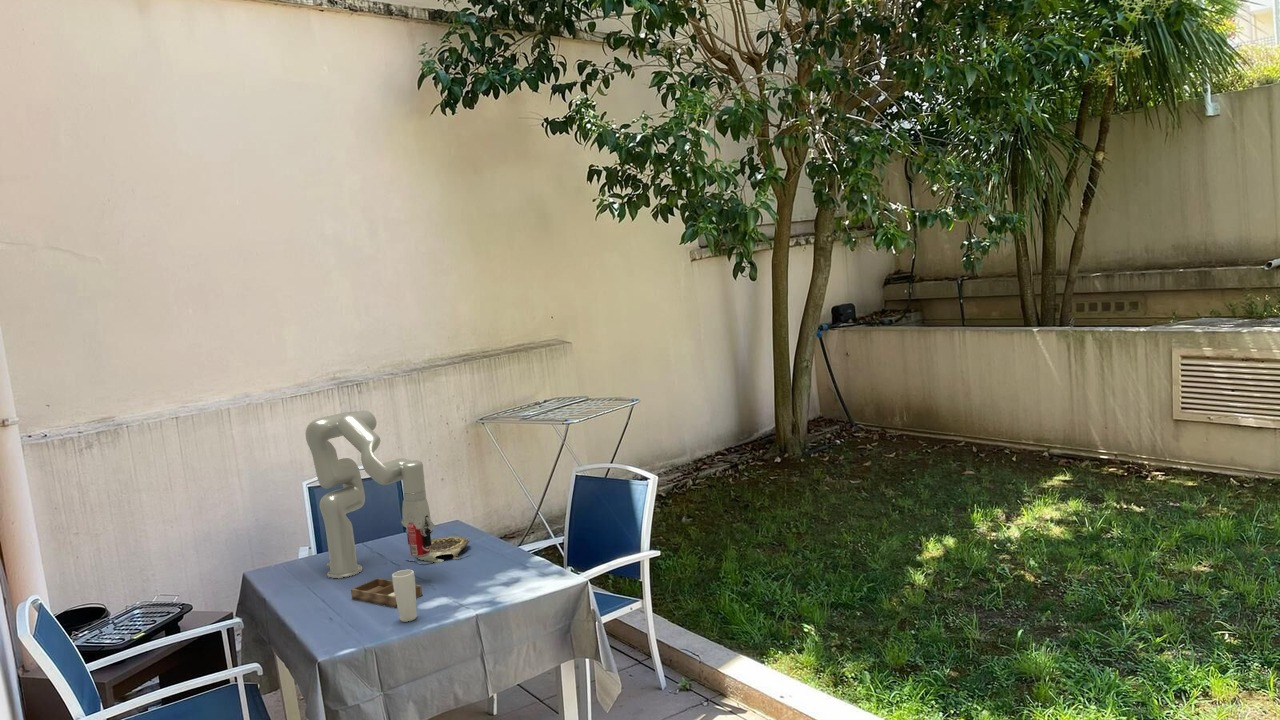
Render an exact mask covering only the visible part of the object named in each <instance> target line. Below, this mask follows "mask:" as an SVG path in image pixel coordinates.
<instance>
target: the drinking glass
mask: <svg viewBox="0 0 1280 720" xmlns="http://www.w3.org/2000/svg"><path fill="white" fill-rule="evenodd" d="M391 580H392V581H393V589H394V593H395V598H396V602H397V611H398V617H399V620H400V622H403V623H407V622H408V621H409V622H412V621H415V620H416V619H417V617H418V613H417V598H416V585H417V584H416V577H415V572H414V570H412V569H401V570H398V571H395V572H393V573H392V574H391ZM415 584H416V585H415ZM409 622H408V623H409Z"/></svg>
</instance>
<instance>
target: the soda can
mask: <svg viewBox="0 0 1280 720" xmlns="http://www.w3.org/2000/svg"><path fill="white" fill-rule="evenodd" d="M413 523H414V522H409V524H408V525H407V528H408V537H409V544H408V545H409V554H410V555H411V557H413V558H415V559H417V558H421V557H425V556H428V555H429V554H430V552H431V546H428V547H423V539H422V536H423V533H422V530H417V529H416V526H415V525H414V524H413ZM425 526H427V525H426V524H425ZM425 526H424V527H425ZM426 531H427V528H426V529H425V532H426ZM408 537H407V538H408Z"/></svg>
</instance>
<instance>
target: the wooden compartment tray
mask: <svg viewBox="0 0 1280 720" xmlns="http://www.w3.org/2000/svg"><path fill="white" fill-rule="evenodd" d="M415 585H416V599H418V598H420V597H422V596H423V589H422V587H423V586H422V585H421V584H416V583H415ZM350 595H351V600H355V601H359V602H363V603H369V604H375V605H378V604H379V605H378V606H383V605H385V606H384V607H388V606H389V608H393V607H395V609H397V608H398V607H397V602H396V598H395V593H394V589H393V581H392V579H386V578H380V577H377V578H375V579H372V580H370V581H368V582H365V583H362V584H360V585H358V586H355V587H353V588H350ZM396 607H397V608H396Z"/></svg>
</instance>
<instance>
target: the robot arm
mask: <svg viewBox="0 0 1280 720" xmlns="http://www.w3.org/2000/svg"><path fill="white" fill-rule="evenodd" d="M376 427H377V419H376V417H375V415H374V414H373V413H372V412H370V411H368V410H358V411H345V412H340V413H336V414H331V415H327V416H322V417H319V418H317V419H314V420H312V421H311V422H310V423H309V424H308V425H307V426H306V430H305V439H306V440H305V441H306V444H307V446H308V448H309V451H310V452H311V455H312V456H311V457H312V460H313V465H314V470H315V473H316V477H317V480H318V484H319V486H320V487H321V488H323V489H326V490H329V489H332V488H337V487H339V486H342V487H343V488H339V489H336V490H332V491H329V492H327V493H326V494H324V495H323V496H322V497H321V498H320V501H319V511H320V513H321V516H322V519H323V522H324V523H323V524H324V527H325V533H326V542H327V549H328V556H329V557H328V558H329V562H327V563H326V567H329V571H328V572H327V573H326V574H327V576H329V577H334V578H338V579H344V578H343V577H345V578H348V577H349V576H350V577H352V575H353V576H356V575H358V574H359V572H360V573H361V572H362V571H363V566H362V565H361V564H358V560H357V553H356V552H357V551H356V544H355V543H356V542H355V536H354V535H355V534H354V528H353V524H352V521H351V520H350V519H349V518H348V516H347V514H348V513H352V512H354V511H357V510H359V509H361V508H363V506H364V505H365V503H366V494H365V489H364V484H363V480H362V476H361V471H360V467H359V466H358V464H357V463H356V461H355V460H354V459H352V458H349V457H343V458H339V457H338V454H337V450H336V447H334V444H333V443H332V442H331V441H330V440H331V439H335V438H339V437H344V439H346V440H347V441H348V442H349V443H350V444H351V445H352V446H353V447H354V448H355V449H356V450H357V451H358V452H359V453H360V454H361V455H360V460H361V464H362V468H363V470H364V472H365V473H366V474H367V475H368V476H369V477H370V478H371V479H372V480H373V481H375V483H377V484H379V485H382V486H388V485H390V484H393V483H397V482H399V481H402V491H403V500H402V507H401V513H402V515H401V516H402V519H401V520H400V523H401V524H402V526H403V528H404V530H405V533H406V534H407V545H409V537H408V528H407V525H408V524H409V522H414V523H413V524H414V525H415V526H416V529H417V530H422V533H423V536H422V539H423V547H428V546H430V545H431V539H432V537H431V535H432V532H433V530H434V529H435V526H436V525H435V524H434V523H433V521H432V518H431V512H430V511H431V510H430V507H429V506H430V505H429V503H428V500H427V492H426V483H425V482H426V481H425V472H424V464H423V462H422V461H421V460H416V459H415V460H414V459H413V460H411V459H407V458H403V457H402V458H397V459H393V460H391V461H387V462H384V463H382V461H380V460H379V459H378V458H377V457H376V456H375V454H374V452H375V451H377V449H378V448H379V446H380V444H381V437H380V436H379V435H378V434H377V433H376V432H375V431H374V430H375V429H376ZM425 524H426V525H427V526H425ZM424 526H425V527H424ZM426 528H427V531H426V532H425V529H426ZM355 574H356V575H355ZM329 577H328V578H329Z"/></svg>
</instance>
